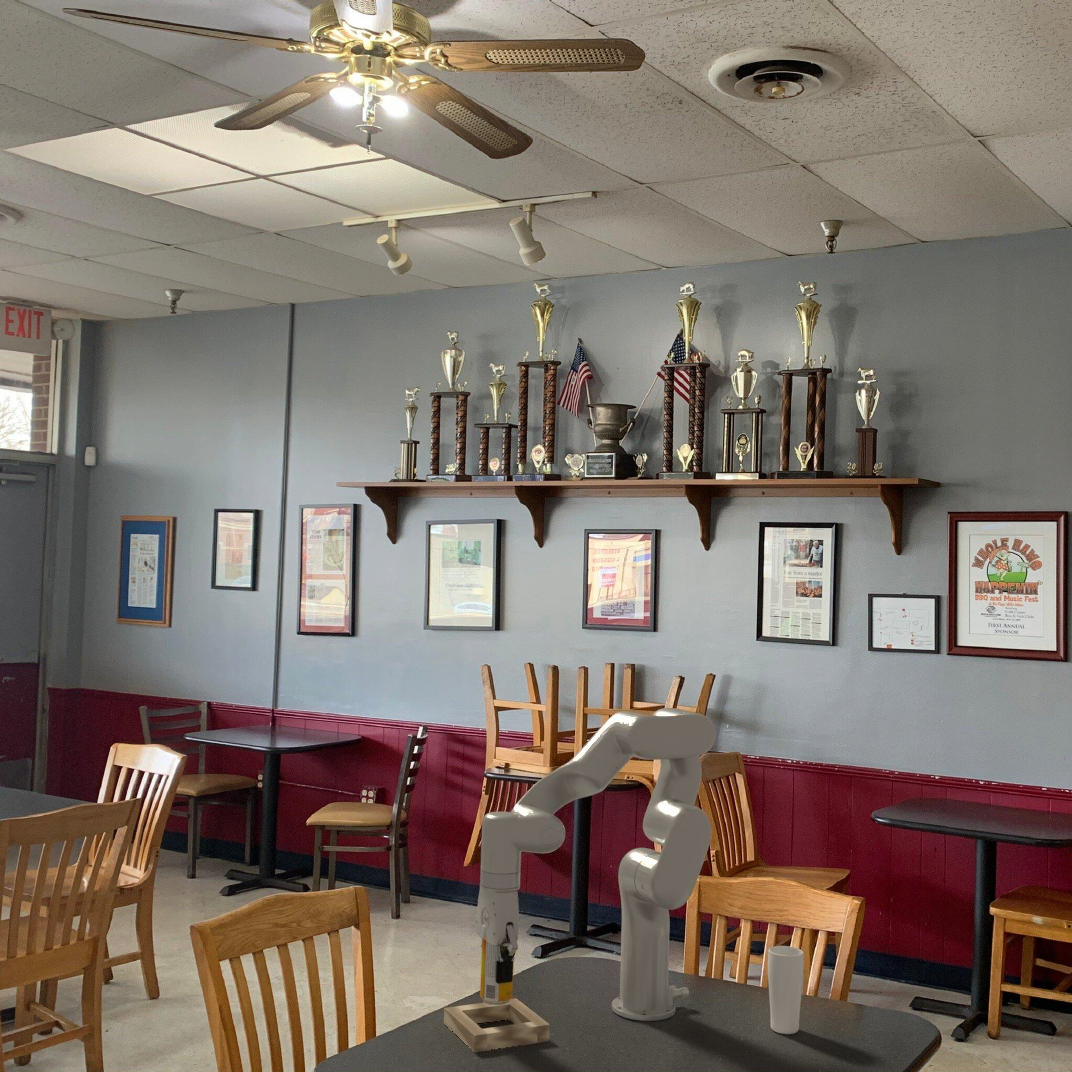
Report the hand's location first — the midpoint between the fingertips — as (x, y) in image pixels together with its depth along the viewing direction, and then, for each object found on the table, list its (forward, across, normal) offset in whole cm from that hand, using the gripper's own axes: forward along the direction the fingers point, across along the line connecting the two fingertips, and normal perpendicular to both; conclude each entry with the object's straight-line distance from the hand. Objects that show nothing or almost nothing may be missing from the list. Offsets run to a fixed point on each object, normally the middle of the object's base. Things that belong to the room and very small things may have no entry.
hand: (496, 975), depth 224 cm
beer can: (+5, 0, 0) cm, 5 cm away
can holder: (+10, 0, 0) cm, 10 cm away
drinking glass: (+10, +19, +52) cm, 56 cm away
